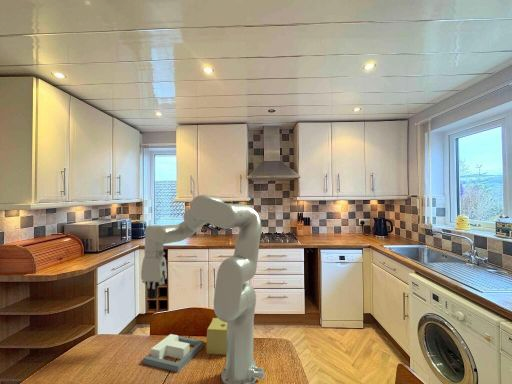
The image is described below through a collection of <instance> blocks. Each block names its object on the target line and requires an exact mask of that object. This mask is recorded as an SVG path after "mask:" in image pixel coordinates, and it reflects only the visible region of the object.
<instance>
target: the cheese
mask: <svg viewBox="0 0 512 384" xmlns="http://www.w3.org/2000/svg"><path fill="white" fill-rule="evenodd" d="M226 333H227V322H223V321H221V320H220V319H218V317H212V320H211V322H210V324H209V326H208V327H207V329H206V354H209V355H223V356H224V355H225V356H226Z"/></svg>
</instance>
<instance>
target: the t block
mask: <svg viewBox="0 0 512 384" xmlns="http://www.w3.org/2000/svg"><path fill="white" fill-rule="evenodd" d="M179 336H180V335H177V334H172V333H170V334H169V335H167V336H166V337H165V338H163V339H162V340H161V341H159V342H158V343H157V344H155V345H154V346H152V347H151V348H150V357H154V358H158V359H162V360H164V358H165V357H171V358H175V359H178V360H179V359H180V360H181V359H182V358H183V357H184V356H185V355H186V354H187V353H188V352H189V351H190V345H189V343H184V342H179V341H178V338H179Z"/></svg>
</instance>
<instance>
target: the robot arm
mask: <svg viewBox="0 0 512 384" xmlns="http://www.w3.org/2000/svg"><path fill="white" fill-rule="evenodd" d="M206 224H210V225H212V226H215V227H218V228H219V229H220V228H221V229H224V230H225V229H226V230H228V229H236V228H239V232H238V233H237V236H236V240H235V244H234V245H235V246H234V251H233V252H234V253H233V255H232V256H230V257H228V258H226V259H224V260H223V261H222V262H221V264H220V265H219V267H218V270H217V273H216V280H215V287H214V294H213V311H214V314H215V316H216V318H218V319H220V320H221V321H223V322H227V333H226V355H225V366H224V368H223V369H222V371H221V375H220V377H221V381H222V383H223V384H255V383H256V381H257V379H261V380H264V379H265V375H266V372H264V367H261V366H260V367H259V366H257V365H256V364H257V363H256V360H254V332H255V331H254V329H255V328H254V327H255V326H254V324H255V322H254V321H255V313H256V312H255V311H256V310H255V309H256V304H257V295H256V290H255V288H254V287H253V286H252V285H251V284H250V283H249V281H250V280H251V279H253V278H254V277H255V275H256V274H257V267H258V261H259V260H258V258H259V252H260V251H259V250H260V241H261V234H262V221H261V218H260V215H259V214H258V212H257V211H256V210H255V209H254V208H253V207H251V206H250V205H247V204H242V203H226V202H224V200H223V199H222V198H221V197H220V196H216V195H208V194H201V195H200V194H199V195H197V196H195V197H194V198H193V199H192V200H191V202H190V204H189V209H187V210H185V212H184V213H183V221H181V222H180V223H178V224H169V225H168V224H167V225H158V224H157V225H147V226H146V227H145V230H144V257H143V258H142V264H141V272H140V277H141V282H142V284H145V285H146V287H147V289H148V299H151V300H154V299H155V298H157V297H158V288H159V287H160V286H162V285H165V284H166V283H165V280H166V279H167V278H168V277H167V276H168V274H167V273H168V272H167V270H168V269H167V268H168V267H167V261H166V257H165V255H166V252H165V251H164V245H166V244H172V243H178V242H182V241H184V240H186V239H188V238H190V237H191V236H193V235H194V234H195V233H197V231H198V230H199V229H200V228H202V227H203V226H205V225H206Z"/></svg>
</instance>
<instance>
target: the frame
mask: <svg viewBox="0 0 512 384" xmlns="http://www.w3.org/2000/svg"><path fill="white" fill-rule="evenodd" d="M178 336H179V338H178V341H179V342H184V343H189V346H192V348H191V350H189V352H188V353H187V354H186V355H185V356H184V357H183V358H182V359H180V360H179V361H178V362H175V361H174V362H173V361H170V360H167V359H158V358H154V357H151V356H149V355H145V356H143V359H142V364H143V365H146V366H147V365H148V366H152V367H155V368H160V369H164V370H167V371H171V372H175V373H179V372H180V371H181V370H182V369H183V368H184V367H185V366H186V365H187V364H188V363H189V362H190V361H191V360H192V359H193V358H194V357H195V356H196V355H197V354H198V353H199V351H200V350H201V349H203V348H204V347H205V341H204V340H201V339H195V338H190V337H185V336H180V335H178Z"/></svg>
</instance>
